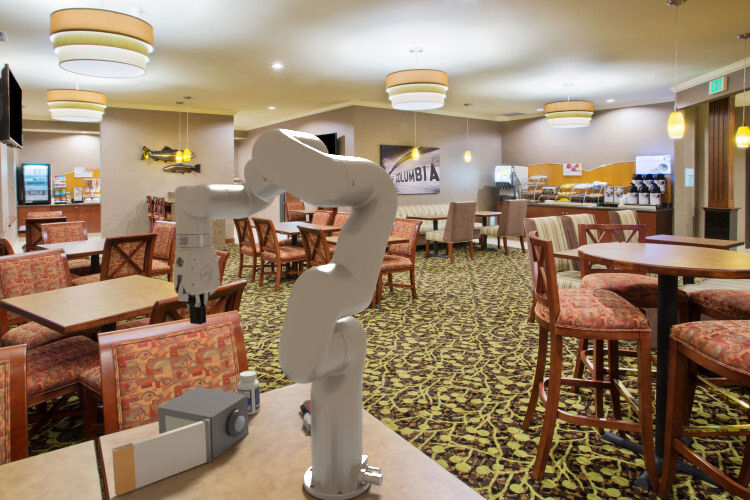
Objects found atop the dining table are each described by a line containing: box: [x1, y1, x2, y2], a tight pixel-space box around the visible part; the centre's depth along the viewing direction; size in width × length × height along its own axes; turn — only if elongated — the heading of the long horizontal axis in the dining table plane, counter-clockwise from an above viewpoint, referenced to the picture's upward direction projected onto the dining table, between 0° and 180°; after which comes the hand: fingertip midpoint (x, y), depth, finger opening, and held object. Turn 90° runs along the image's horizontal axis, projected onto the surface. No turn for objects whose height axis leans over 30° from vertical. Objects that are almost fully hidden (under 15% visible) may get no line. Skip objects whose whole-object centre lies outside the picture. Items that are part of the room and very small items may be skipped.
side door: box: [111, 419, 213, 497], centre depth 93 cm, size 18×1×9 cm, turn 133°
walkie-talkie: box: [299, 399, 311, 433], centre depth 115 cm, size 9×4×20 cm
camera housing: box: [157, 386, 249, 461], centre depth 107 cm, size 16×12×9 cm
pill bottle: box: [236, 370, 261, 416], centre depth 122 cm, size 5×5×10 cm
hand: (198, 322), depth 110 cm, fingers closed
